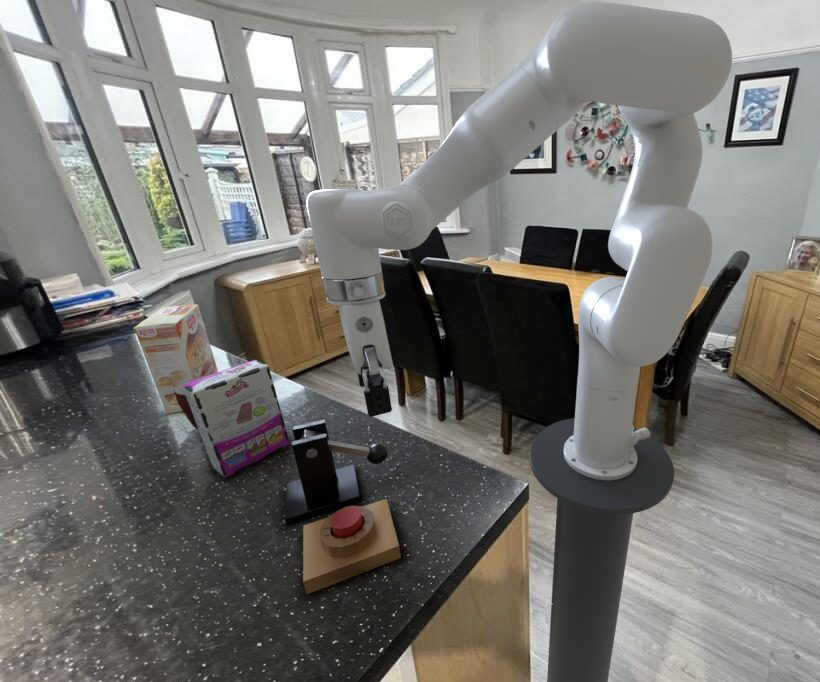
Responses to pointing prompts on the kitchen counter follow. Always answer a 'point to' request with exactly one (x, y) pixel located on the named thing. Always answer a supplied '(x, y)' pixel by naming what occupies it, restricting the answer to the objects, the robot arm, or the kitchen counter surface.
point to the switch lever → (354, 448)
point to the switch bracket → (318, 477)
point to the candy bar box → (237, 416)
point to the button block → (348, 548)
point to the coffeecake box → (175, 350)
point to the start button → (346, 522)
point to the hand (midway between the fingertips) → (375, 397)
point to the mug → (185, 402)
